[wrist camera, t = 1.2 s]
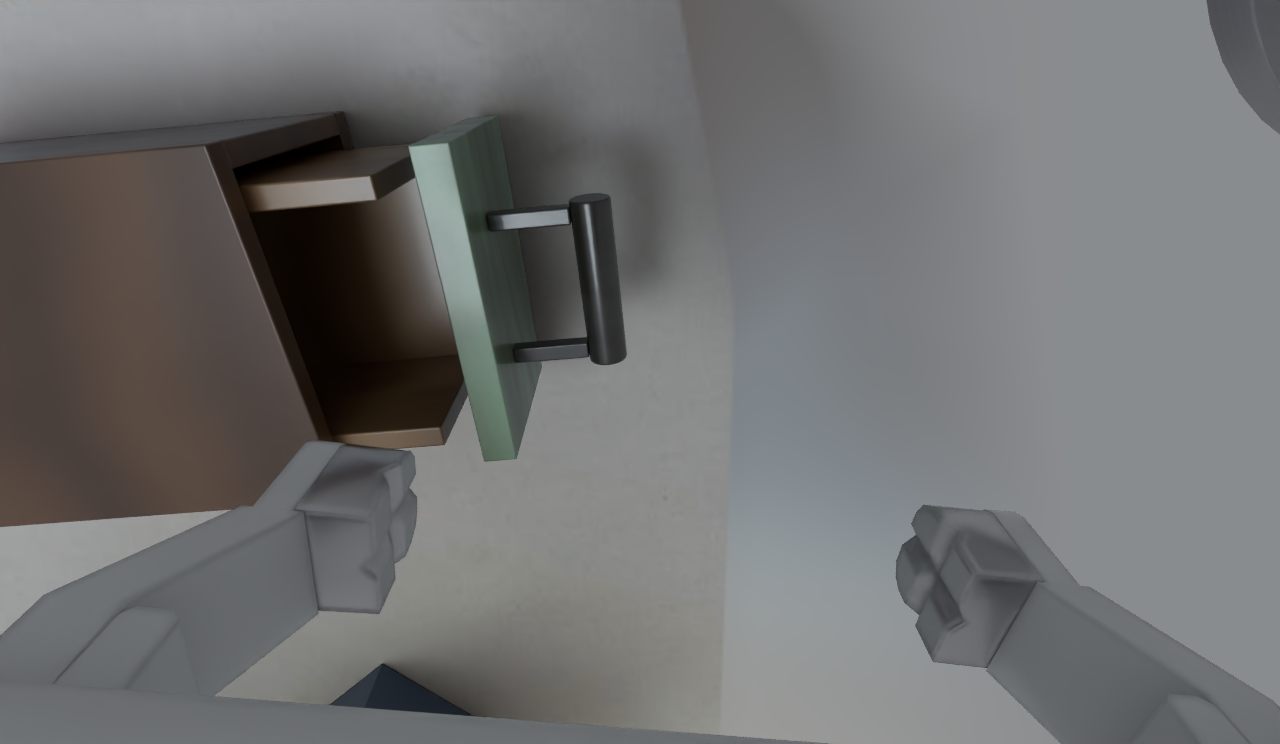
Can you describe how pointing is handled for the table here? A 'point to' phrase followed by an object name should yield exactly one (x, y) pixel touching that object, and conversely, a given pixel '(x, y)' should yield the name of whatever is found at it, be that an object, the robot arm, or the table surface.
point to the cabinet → (146, 324)
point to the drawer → (423, 284)
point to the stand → (394, 695)
